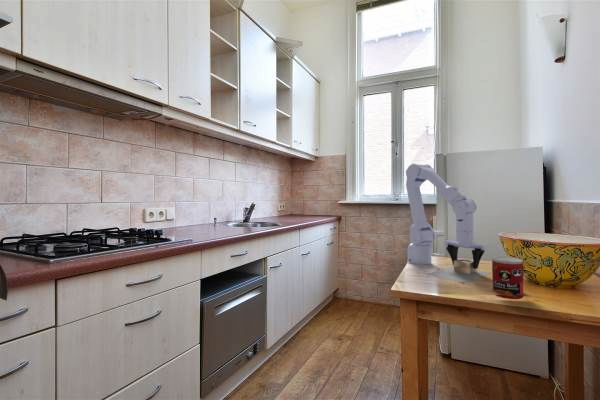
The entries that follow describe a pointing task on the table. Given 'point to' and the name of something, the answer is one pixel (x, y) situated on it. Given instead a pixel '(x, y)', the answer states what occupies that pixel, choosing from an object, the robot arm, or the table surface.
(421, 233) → the robot arm
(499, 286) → the canned food
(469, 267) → the collar
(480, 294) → the table surface
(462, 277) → the board
